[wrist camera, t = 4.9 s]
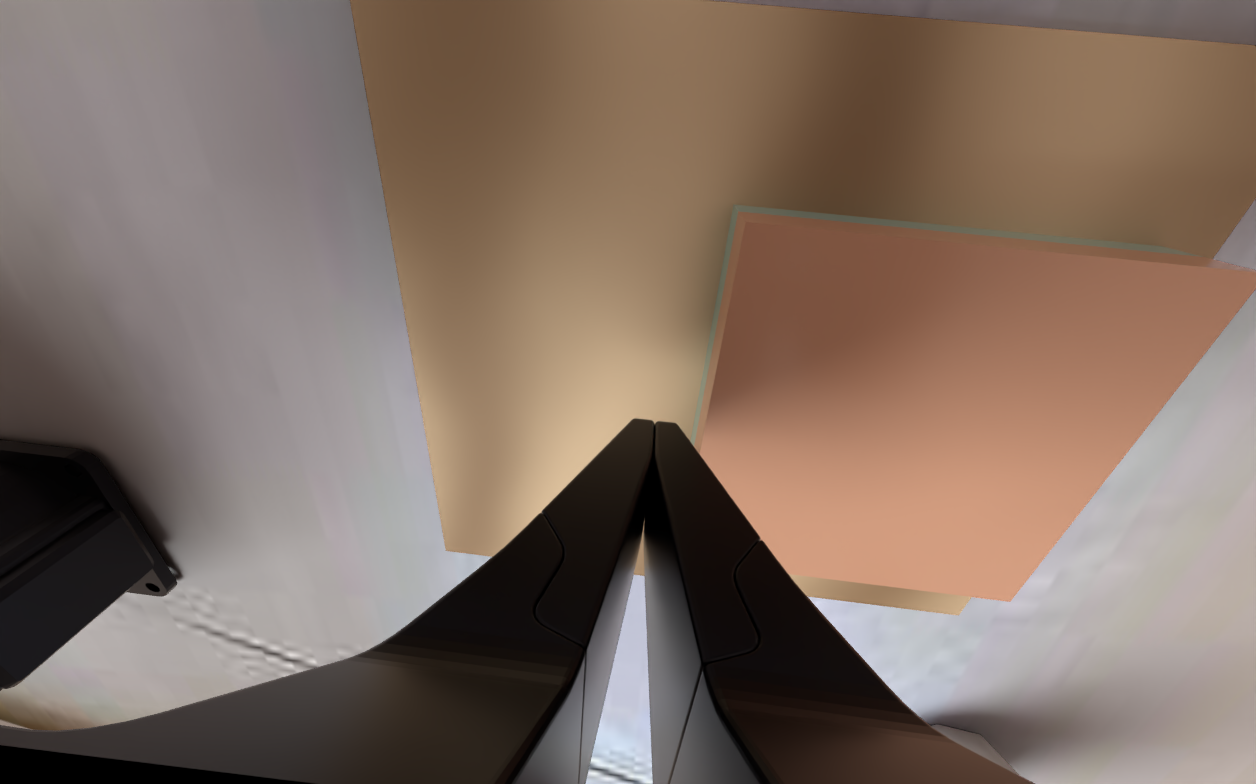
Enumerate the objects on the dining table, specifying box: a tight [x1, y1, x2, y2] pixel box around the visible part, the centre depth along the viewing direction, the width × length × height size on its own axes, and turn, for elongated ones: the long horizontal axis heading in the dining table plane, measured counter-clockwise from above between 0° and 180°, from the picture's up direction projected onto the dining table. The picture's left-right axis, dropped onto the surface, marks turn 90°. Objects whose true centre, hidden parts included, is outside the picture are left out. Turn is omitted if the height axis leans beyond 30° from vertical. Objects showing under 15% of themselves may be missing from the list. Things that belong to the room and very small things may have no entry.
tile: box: [690, 204, 1256, 602], centre depth 10 cm, size 2×8×8 cm
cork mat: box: [350, 0, 1256, 615], centre depth 11 cm, size 16×14×1 cm
